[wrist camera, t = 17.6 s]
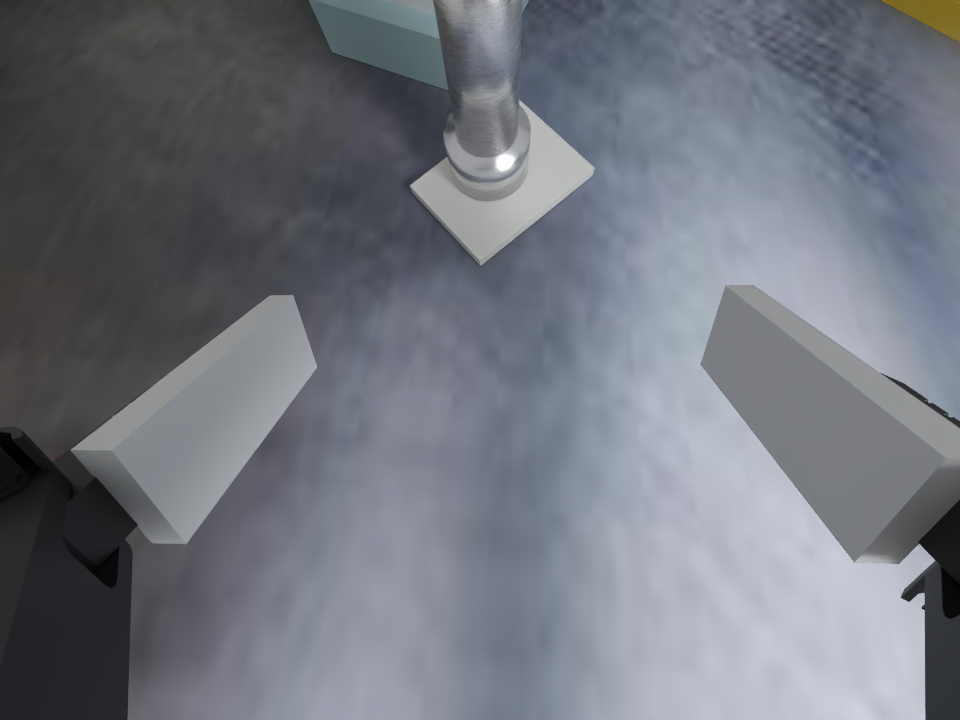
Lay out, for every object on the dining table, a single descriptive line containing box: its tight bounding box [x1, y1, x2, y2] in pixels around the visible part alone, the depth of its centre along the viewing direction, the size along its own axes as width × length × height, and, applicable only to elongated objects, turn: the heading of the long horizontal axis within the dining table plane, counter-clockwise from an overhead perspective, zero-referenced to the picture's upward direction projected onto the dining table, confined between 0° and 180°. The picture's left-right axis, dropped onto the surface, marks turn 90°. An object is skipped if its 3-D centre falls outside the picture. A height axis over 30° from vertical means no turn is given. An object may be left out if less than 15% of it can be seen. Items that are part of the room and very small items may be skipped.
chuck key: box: [433, 0, 531, 202], centre depth 15 cm, size 7×4×12 cm, turn 170°
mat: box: [410, 101, 595, 266], centre depth 21 cm, size 8×6×1 cm
